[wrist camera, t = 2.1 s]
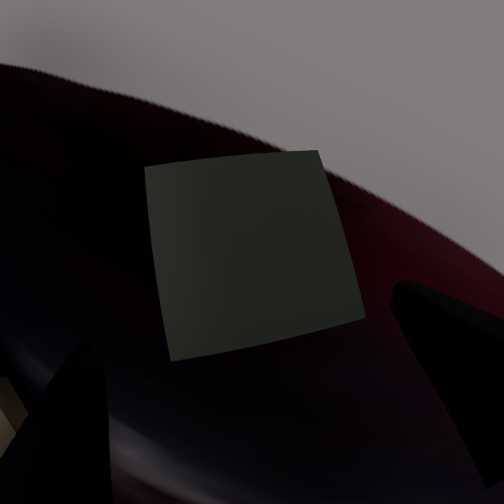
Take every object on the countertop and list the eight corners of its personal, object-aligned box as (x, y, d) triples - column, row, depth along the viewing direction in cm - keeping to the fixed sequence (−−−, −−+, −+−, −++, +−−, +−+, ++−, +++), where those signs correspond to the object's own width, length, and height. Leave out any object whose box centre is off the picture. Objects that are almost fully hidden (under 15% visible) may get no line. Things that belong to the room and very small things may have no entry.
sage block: (267, 333, 18) (365, 317, 7) (186, 349, 17) (171, 361, 6) (250, 255, 19) (317, 150, 8) (171, 268, 18) (144, 166, 7)
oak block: (106, 505, 13) (95, 526, 10) (25, 541, 10) (10, 558, 7) (9, 376, 14) (-16, 379, 12) (-56, 432, 11) (-78, 438, 9)
